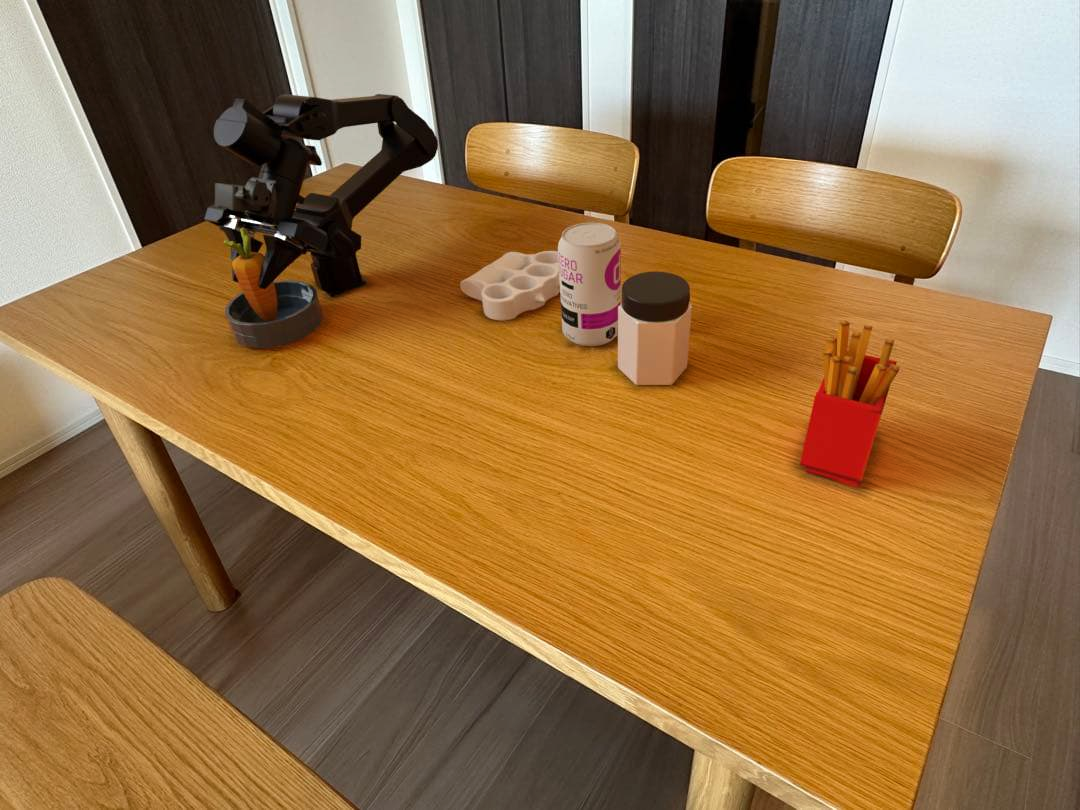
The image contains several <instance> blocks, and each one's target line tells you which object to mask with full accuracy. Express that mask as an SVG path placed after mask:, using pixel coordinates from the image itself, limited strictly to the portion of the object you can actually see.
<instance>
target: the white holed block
mask: <svg viewBox="0 0 1080 810" xmlns="http://www.w3.org/2000/svg"><path fill="white" fill-rule="evenodd" d="M459 287H460V289H461V291H462V292H463V293H464V294H465V295H467V296H468V297H470V298H473V299H475V300H478V301H480V302H482V309H483V310H482V311H483V313H484V315H485V316H486V317H487V318H489V319H491V320H494V321H498V322H499V321H502V322H505V321H509V320H510V321H511V320H514V319H516V318H517V317H518V316H519V315H520V314H522V313H524V312H528V311H535V310H537V309H539V308H541V307H544V306H545V304H546V302H547V301H548V300H550V299H552V298H554V297H557V296H558V295H559V294H560V279H559V261H558V250H543V251H540V252H537V253H530V254H526V253H522V252H518V251H508V252H506V253H504V254H502V256H501V257H499V258H498V259H496V260H493V262H491V263H489V264H488V265H485V266H483V267H482V268H481V269H480V270H478V271H477V272H475V273H473V274H472V275H470V276H469V277H467V278H465V279H463V280H461V281H460V283H459Z"/></svg>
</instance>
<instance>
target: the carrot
mask: <svg viewBox="0 0 1080 810" xmlns="http://www.w3.org/2000/svg"><path fill="white" fill-rule="evenodd" d="M240 231H241V235H242V238H243V244H244V249H243V248H242V246H241V244H236V243H235V242H233V241H229V240H228V239H225V240H224V241H223V244H224V245H226V246H228V247H231V248H233V249H234V250H235V251H236V252H237V253H238V254H239V255H240V256H238V257H237V258H236V259H234V260H233V262H232V261H231V268H232V267H233V269H234V272H235V274H236V277H237V279H238V282H239V283H238V284H239V286H240V289H241V291H242V292H243V293H244V295H245V297H246V299H247V300H248V302H249V304H250V305H251V307H252V308H253V310H254V311H255V313H256V314H257V315H258V316H259V317H260V318H261V319H262V320H263V321H264V322H270V321H274V320H276V317H277V308H278V305H277V296H276V290H275V285H274V281H273V282H272V283H271V284H270V285H269V286H268V287H267V288H266V289H262V288H260V287H259V286H258V284H259V277H260V273H261V269H262V265H263V261H264V257H265V254H263V253H261V252H258V253H255V252H251V245H250V241H251V237H250V236H249V234H248V231H247V229H245V228H241V229H240ZM231 248H230V249H231Z"/></svg>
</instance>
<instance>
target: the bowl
mask: <svg viewBox="0 0 1080 810" xmlns="http://www.w3.org/2000/svg"><path fill="white" fill-rule="evenodd" d="M273 282H274V285H275V290H276V296H277V305H278V308H277V317H276V320H274V321H270V322H264V321H263V320H262V319H261V318H260V317H259V316H258V315H257V314H256V313H255V311H254V310H253V308H252V307H251V305H250V304H249V302H248V300H247V299H246V297H245V295H244V293H243V291H242V292H240V293H239V294H237V295H235V296H234V297H233V298H231V299H230V300H229V301H228V303H227V304H226V306H225V307H224V316H225V320H226V322H227V325H228V326H229V329H230V332H231V334H232V338H233V339H234V340H235V341H236V342H237V344H240V345H242V346H245V347H247V348H255V349H271V348H279V347H283V346H284V347H285V346H287V345H290V344H294V343H295V342H298V341H300V340H302V339H304V338H306V337H307V336H309V335H311V334H312V333H313V332H315V331H316V330H317V329H318V328H319V327H320V326H321V324H322V322H323V320H324V316H325V315H324V312H323V309H322V305H321V301H320V299H319V295H318V291H317V289H316V288H315V287H314V286H313V285H312V284H311V283H308V282H305V281H301V280H292V279H287V280H276V281H275V280H274V281H273Z"/></svg>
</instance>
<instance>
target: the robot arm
mask: <svg viewBox="0 0 1080 810" xmlns="http://www.w3.org/2000/svg"><path fill="white" fill-rule="evenodd" d="M370 124H377V130H378V135H379V136H380V138H382V141H381V149H380V151H378V152H377V154H375V155H374V156H373V157H372V158H371V159H370V160H369V161H367V162H366V163H365V164H364V165H363V166H362V167H360V168H359V169H358V170H356V172H355V173H354V174H352V175H351V176H350V177H349V178H348V179H347V180H346V181H345V182H343V183H342V184H341V185H340V186H339V187H338V188H337V189H336V190H334V191H333V192H331V194H329V195H326V194H321V193H315V192H310V193H309V194H307V195H306V196H305V197H304V196H302V195H300V193H301V190H302V187H303V184H304V181H305V177H306V174H307V171H308V169H309V168H308V167H309V165H310V166H317V167H318V166H319V167H321V166H322V165H323V162H322V159H321V157H320V155H319V154H318V152H317V148H316V146H314V145H307V144H302V143H301V142H299V141H298V140H296V139H302V140H303V139H304V140H309V141H310V140H311V141H322V140H323V139H326V138H328V137H331V136H334V135H335V134H336V133H337V132H338V131H339V130H342V129H344V128H350V127H357V126H365V125H370ZM283 136H284V137H287V138H284V137H283ZM213 138H214V140H215V142H216V144H218V146H221V148H224V149H225V150H227V151H229V152H231V154H234V155H235V156H237V157H239V158H240V159H242V160H244V161H246V162H247V163H248V164H250V165H251V166H256V167H259V166H261V170H260V172H259V176H258V177H255V176H254V177H253V176H251V178H249V180H248V181H246V184H245V185H240V184H232V183H231V184H230V183H221V182H214V204H212V205H210V206H207V208H206V211H205V215H204V218H203V220H204V221H205V222H207V223H210V224H212V225H214V226H216V227H218V228H219V230H220V231H221V232H223V233H224V234H225V236H226V238H227V240H228V241H233V242H235V243H236V244H241V246H242V248H243V249H244V244H243V238H242V235H241V231H240V229H241V228H245V229H247V231H248V234H249V236H250V237H251V241H250V245H251V252H255V253H260V252H259V251H260V250H261V248H262V247H263V245H264V244H265V247H266V248H265V249H266V250H265V253H264V261H263V265H262V269H261V273H260V277H259V284H258V286H259V287H260V288H262V289H266V288H267V287H268V286H269V285H270V284H271V283H272V282H274V281H275V280H276V279H277V278H278V277H280V275H281V274H282V273H283V272H284V271H285V270H286V269H287V268H288V267H289V266H290V265H291V264H293V263H294V262H295V261H296V260H297V259H298V258H300V257H301V256H302V255H303V256H306V254H307V253H310V257H311V260H312V262H311V263H310V269H311V272H312V276H313V279H314V282H315V285H316V287H317V288H318V289H320V290H321V291H322V292H324V293H325V294H326V295H328V296H329V297H331V298H333V297H336V296H340V295H343V294H344V293H348V292H350V291H352V290H356V289H357V288H360V287H363V286H366V285H367V284H368V283H367V280H366V279H364V278H363V277H362V273H361V270H360V266H359V263H358V262H359V261H358V258H357V252H358V251H360V250H361V249H362V235H361V234H359V233H357V232H356V231H354V230H353V229H352V228H353V223H354V219H355V218H356V217H357V215H359V214H360V213H361V212H362V211H363V210H364V209H365V208H366V207H367V206H368V205H370V204H371V203H372V202H373V201H374V200H375V199H376V198H377V197H378V196H379V195H381V194H382V192H383V191H385V189H387V188H388V187H389V186H390V185H391V184H392V183H394V181H395V180H397V179H398V177H399V176H401V175H402V174H403V173H404V172H407V171H411V170H413V169H419V168H421V167H423V166H425V165H426V164H428V163H429V162H431V161H433V160H434V158H435V157H436V155H437V151H438V148H439V141H438V138H437V136H436V134H435V132H434V130H433V129H432V128H431V127H430V126H429V124H428V123H427V121H425V119H423V118H422V117H421V116H420V115H419V114H417V113H416V112H415V111H413V110H412V109H411V108H410V107H409V106H408V104H407V103H406V102H405V100H404V99H402V97H400V96H399V95H395V94H383V93H376V94H374V95H371V96H369V95H368V96H359V97H357V96H356V97H346V98H345V97H344V98H335V99H328V98H323V97H317V96H307V95H297V94H296V95H295V94H288V93H287V94H286V93H283V94H281V95H278V96H277V97H276V98H275V102H274V104H273V106H270V107H269V108H268V109H266V110H265V111H263V112H262V111H261V110H259V109H258V108H257V107H256V105H254V104H253V103H252V102H250V101H249V100H247V99H243V98H235V99H234V102H233V105H232V106H230V107H228V108H227V109H226V110H225V111H223V113H222V114H221V115H220V116H219V118H217V119H216V121H215V123H214V127H213ZM294 138H296V139H294ZM256 233H260V234H262V236H263V240H264V242H263V241H261V240H258V239H256V238H254V237H255V235H256ZM229 247H230V246H229ZM238 256H240V255H239V254H238V253H237V252H236V251H235V250H234V249H233V248H231V247H230V257H231V258H230V260H231V263H232V262H233V260H234V259H236V258H237V257H238ZM231 275H232V281H233V282H234V283H238V284H239V282H238V279H237V277H236V274H235V272H234V269H233V267H232V266H231Z"/></svg>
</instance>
